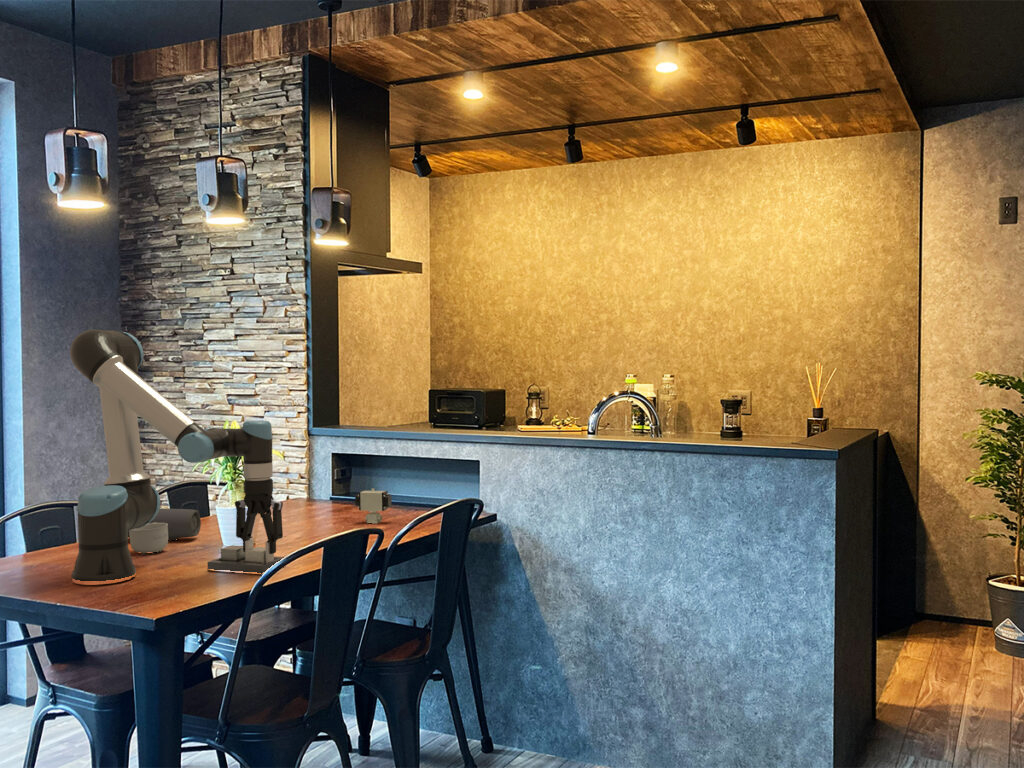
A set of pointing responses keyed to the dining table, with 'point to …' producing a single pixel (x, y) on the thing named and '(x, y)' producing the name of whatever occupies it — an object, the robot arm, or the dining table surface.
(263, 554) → the beige cube
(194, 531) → the bluetooth speaker
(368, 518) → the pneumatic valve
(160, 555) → the dining table surface
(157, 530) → the teacup
